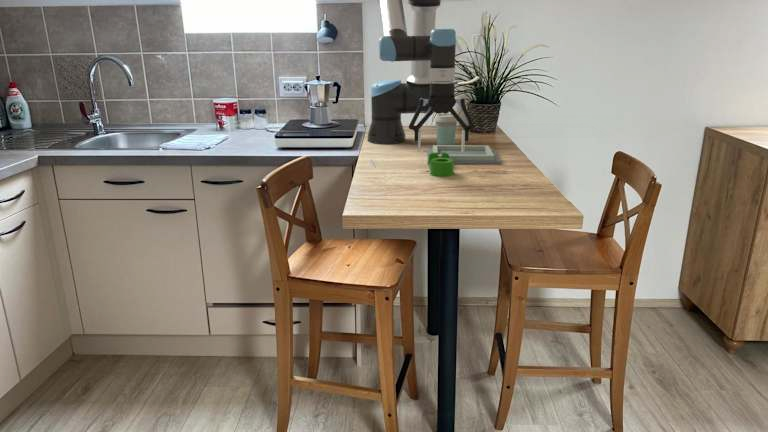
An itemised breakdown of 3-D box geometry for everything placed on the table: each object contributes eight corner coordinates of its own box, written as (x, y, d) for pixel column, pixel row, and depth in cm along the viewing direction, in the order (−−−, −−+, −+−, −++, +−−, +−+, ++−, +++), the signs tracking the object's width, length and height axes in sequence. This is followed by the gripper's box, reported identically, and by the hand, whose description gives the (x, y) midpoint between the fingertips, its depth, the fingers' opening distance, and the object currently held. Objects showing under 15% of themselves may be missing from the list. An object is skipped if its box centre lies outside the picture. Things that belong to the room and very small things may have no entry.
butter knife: (376, 158, 201) (367, 158, 201) (388, 179, 176) (378, 179, 176) (376, 160, 201) (367, 160, 201) (388, 181, 176) (378, 181, 176)
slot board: (427, 163, 194) (427, 156, 193) (427, 151, 213) (427, 144, 212) (500, 164, 193) (500, 156, 192) (493, 151, 211) (493, 144, 211)
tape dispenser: (454, 177, 178) (454, 162, 177) (431, 177, 178) (431, 163, 177) (449, 166, 192) (449, 152, 191) (427, 166, 192) (427, 152, 191)
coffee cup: (456, 145, 223) (457, 113, 219) (457, 149, 215) (458, 117, 211) (434, 144, 224) (434, 113, 220) (434, 149, 216) (434, 117, 212)
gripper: (400, 83, 174) (400, 153, 180) (485, 83, 172) (482, 153, 179) (401, 81, 181) (401, 149, 187) (482, 80, 179) (480, 149, 186)
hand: (441, 151), depth 183 cm, fingers open, 13 cm apart
